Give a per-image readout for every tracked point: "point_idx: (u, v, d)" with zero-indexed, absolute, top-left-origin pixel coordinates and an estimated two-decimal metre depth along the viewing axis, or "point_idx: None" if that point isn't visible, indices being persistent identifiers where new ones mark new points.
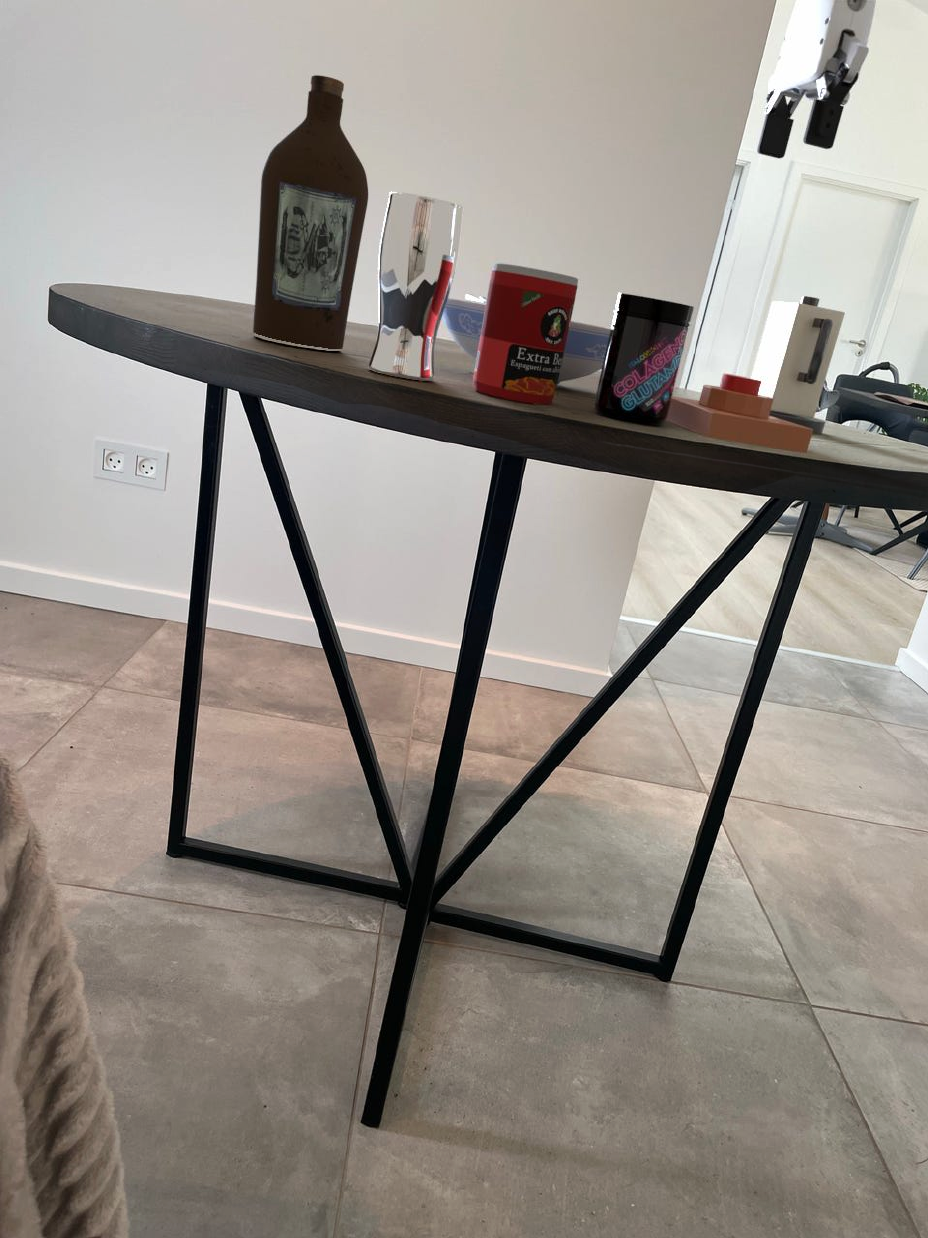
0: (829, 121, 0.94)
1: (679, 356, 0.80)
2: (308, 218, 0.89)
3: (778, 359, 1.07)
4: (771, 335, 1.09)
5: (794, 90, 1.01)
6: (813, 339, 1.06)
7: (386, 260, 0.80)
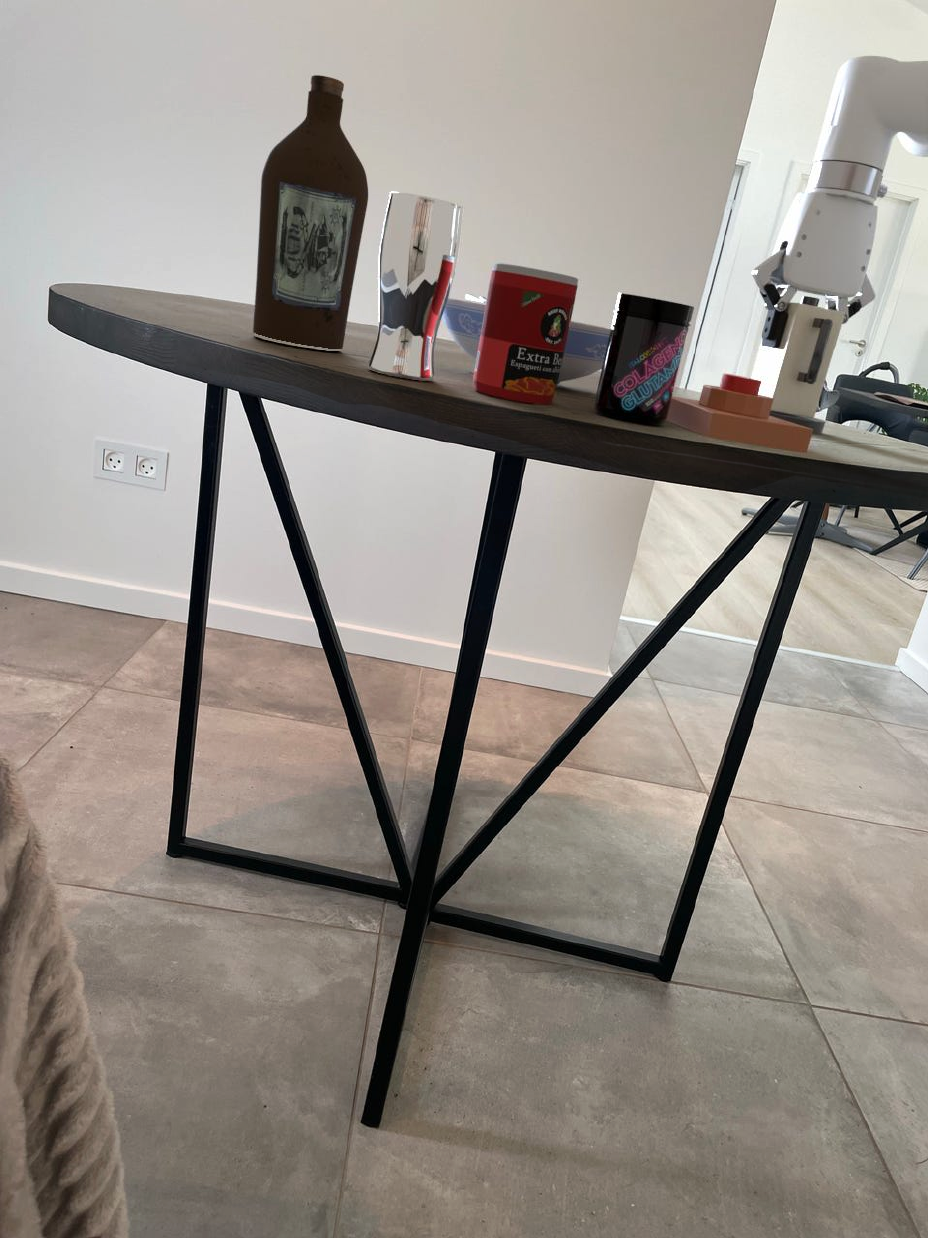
0: None
1: (679, 356, 0.80)
2: (308, 218, 0.89)
3: (778, 359, 1.07)
4: None
5: None
6: (813, 339, 1.06)
7: (386, 260, 0.80)
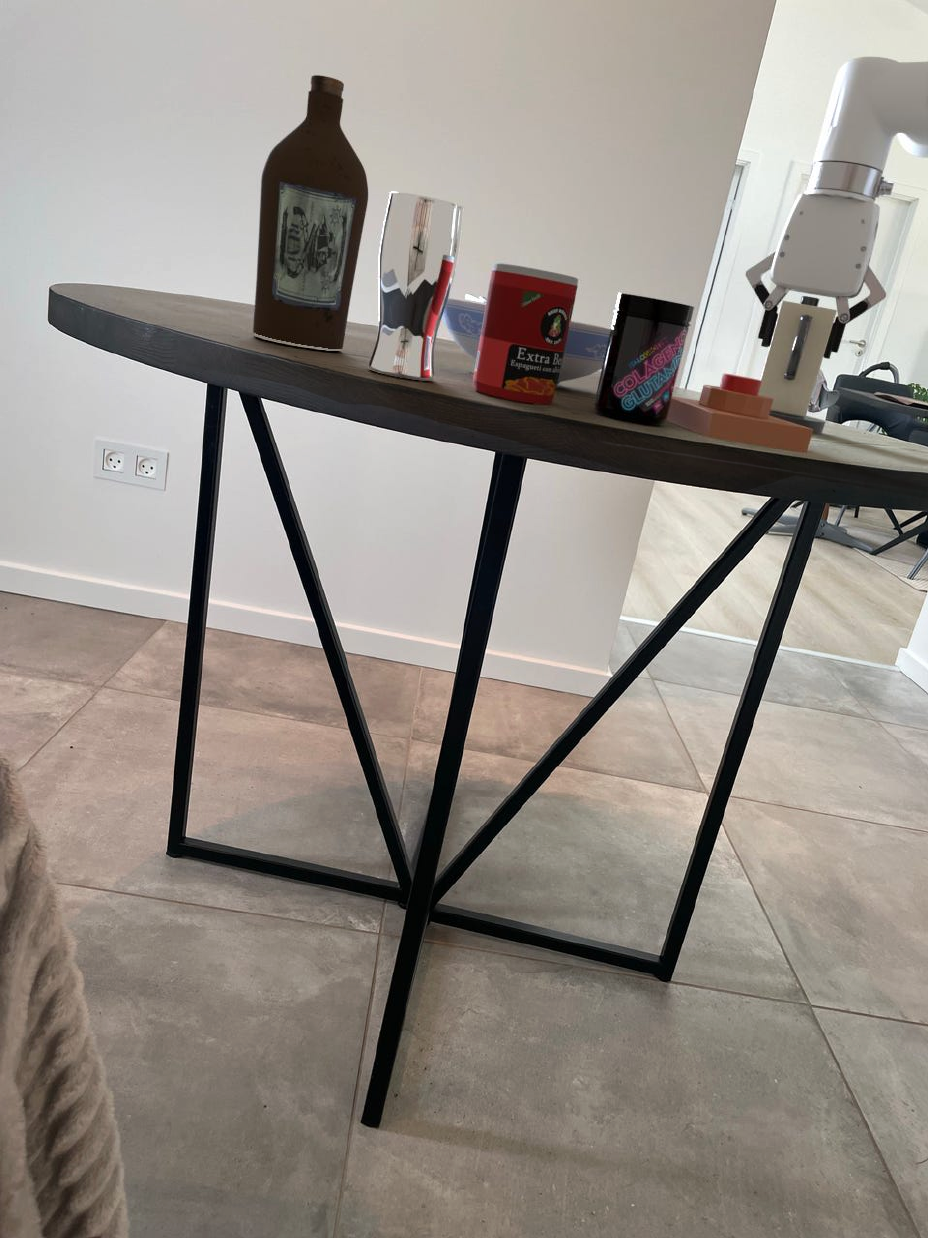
0: (840, 340, 1.07)
1: (679, 356, 0.80)
2: (308, 218, 0.89)
3: (766, 357, 1.08)
4: (772, 335, 1.10)
5: None
6: None
7: (386, 260, 0.80)
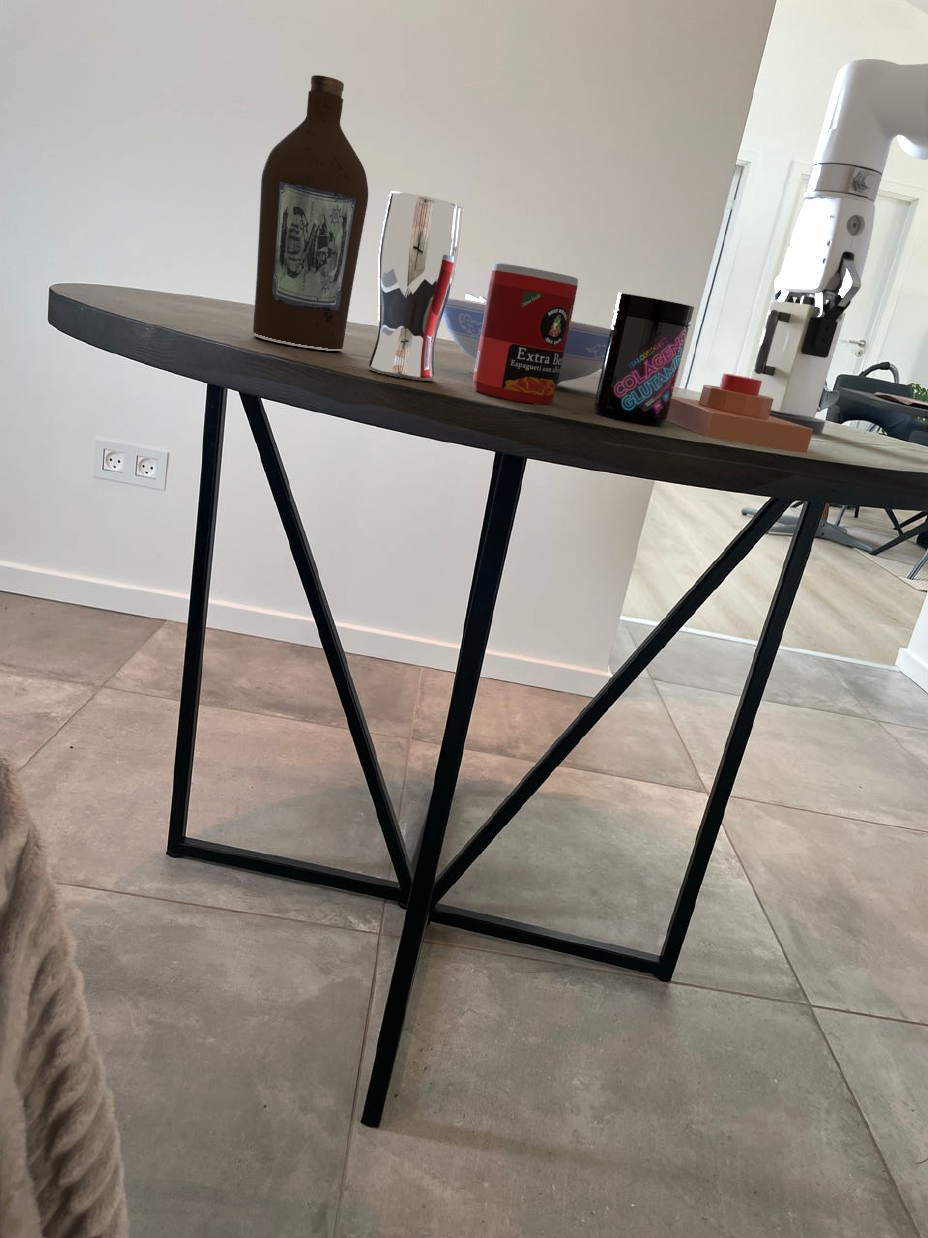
0: (824, 337, 1.04)
1: (679, 356, 0.80)
2: (308, 218, 0.89)
3: None
4: None
5: (800, 291, 1.10)
6: (781, 334, 1.07)
7: (386, 260, 0.80)
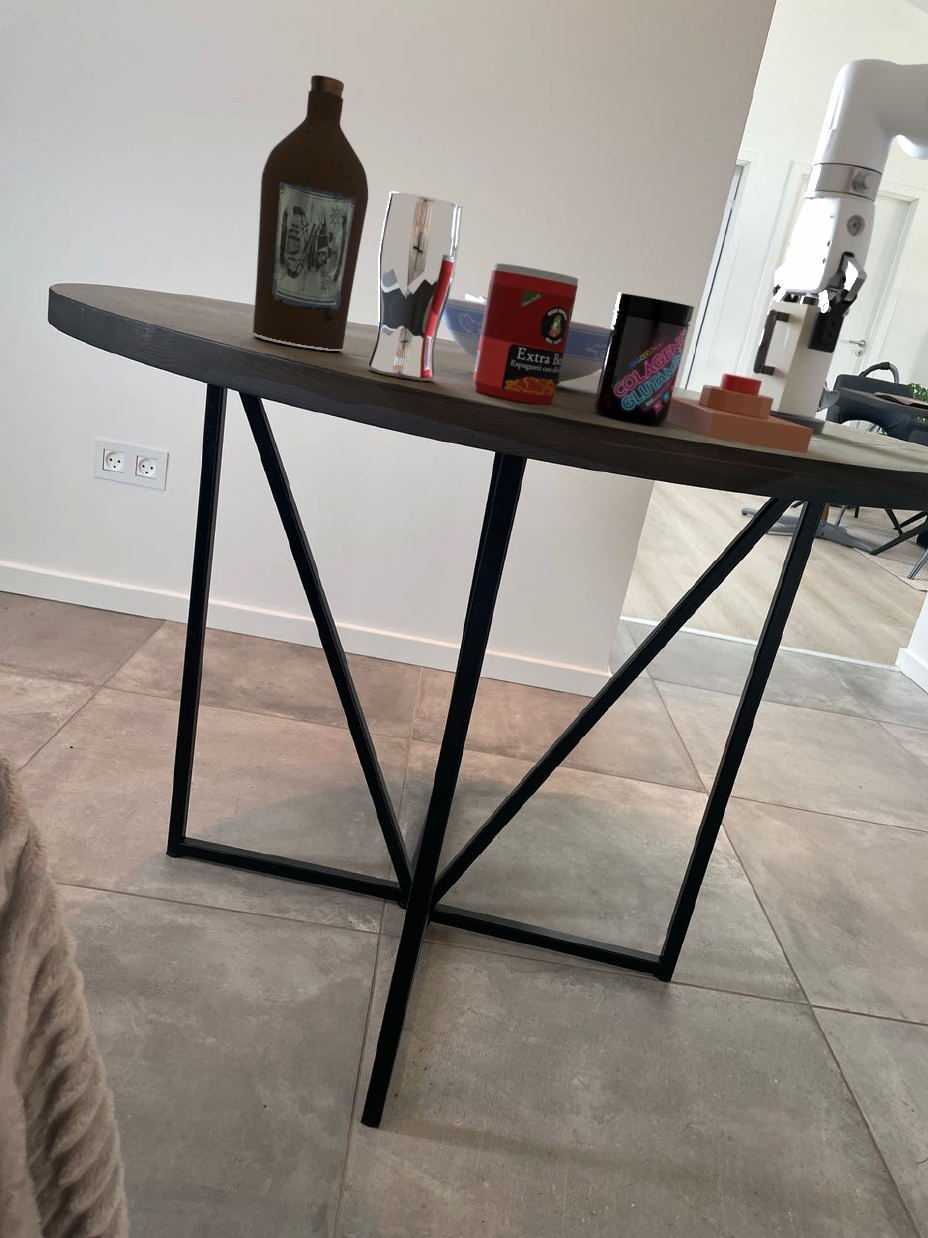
0: (831, 332, 1.03)
1: (679, 356, 0.80)
2: (308, 218, 0.89)
3: None
4: None
5: None
6: (780, 334, 1.07)
7: (386, 260, 0.80)
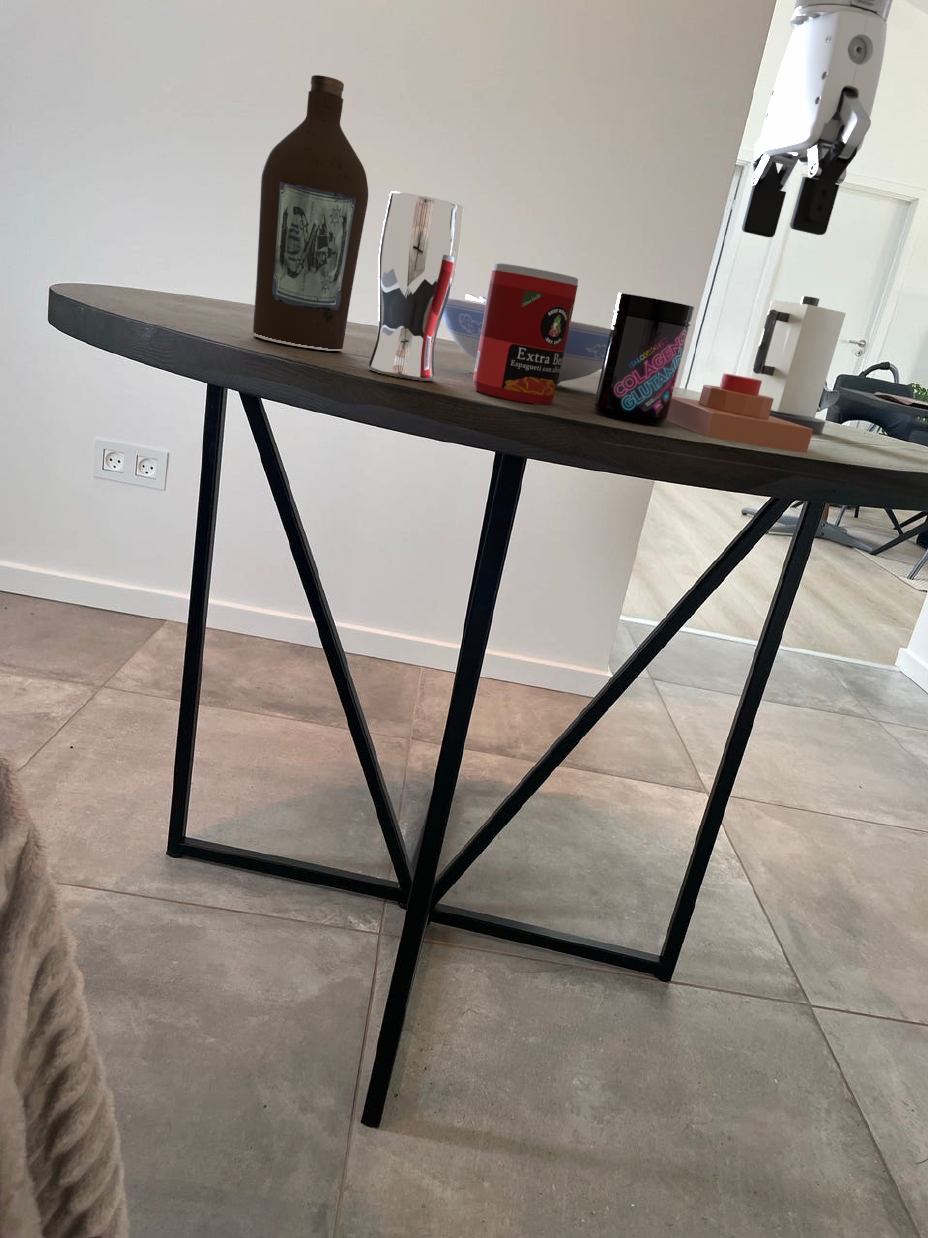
0: (821, 204, 0.77)
1: (679, 356, 0.80)
2: (308, 218, 0.89)
3: None
4: None
5: (786, 156, 0.84)
6: (780, 334, 1.07)
7: (386, 260, 0.80)
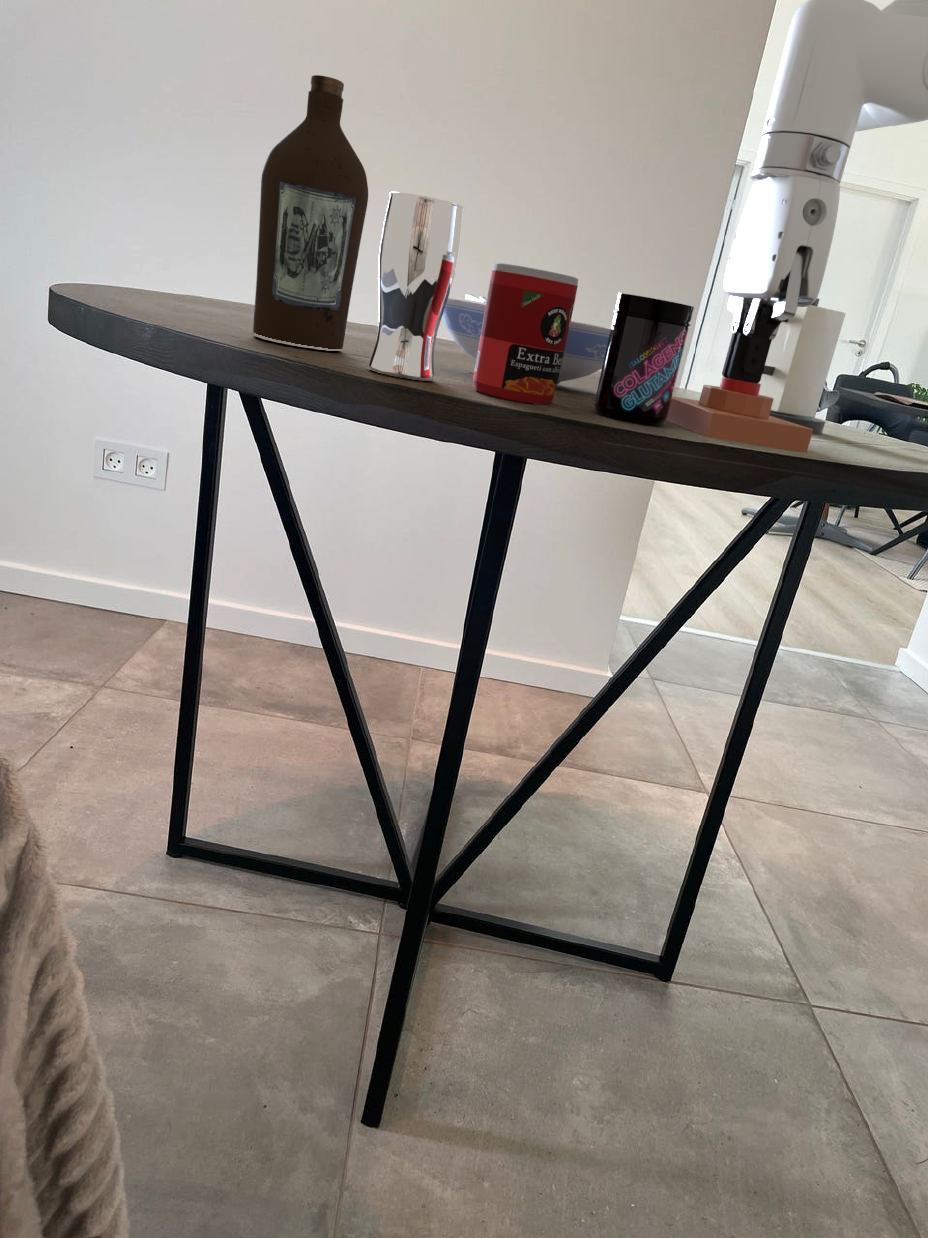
0: (755, 358, 0.85)
1: (679, 356, 0.80)
2: (308, 218, 0.89)
3: None
4: None
5: None
6: (780, 334, 1.07)
7: (386, 260, 0.80)
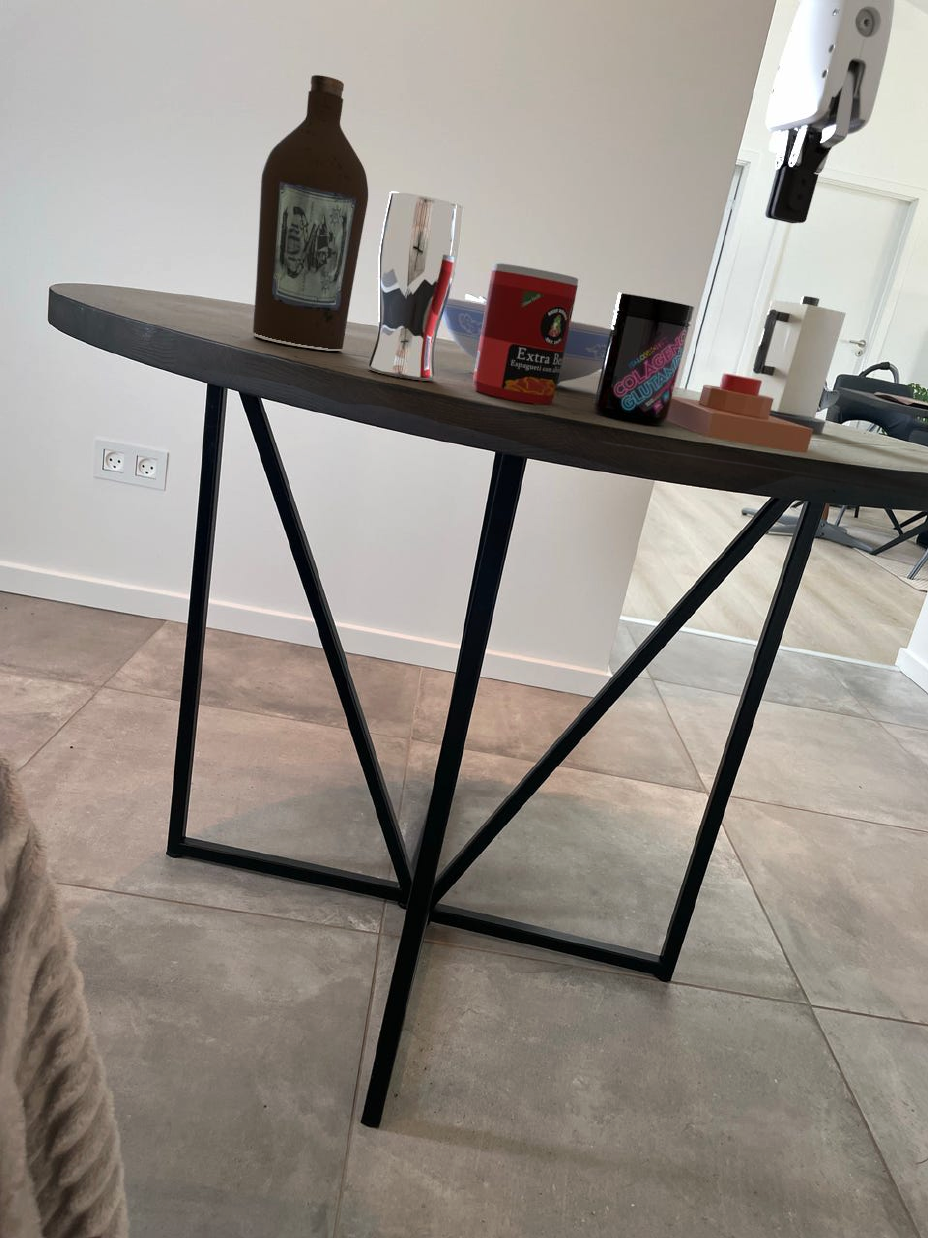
0: (801, 193, 0.80)
1: (679, 356, 0.80)
2: (308, 218, 0.89)
3: None
4: None
5: None
6: (780, 334, 1.07)
7: (386, 260, 0.80)
